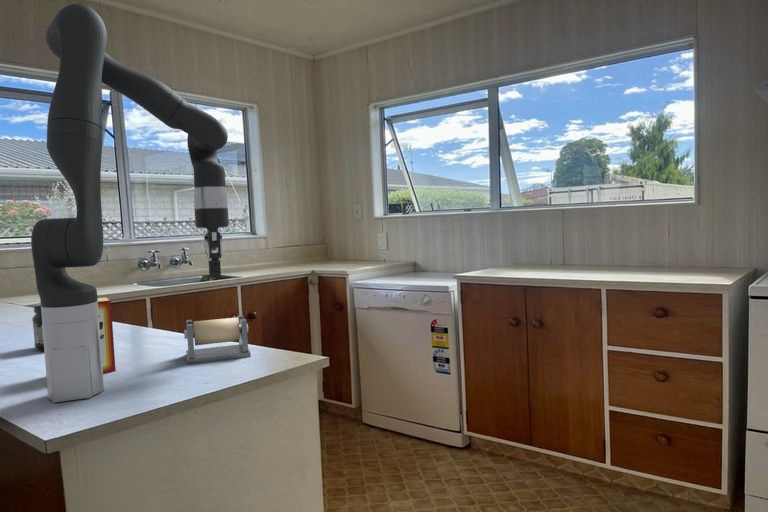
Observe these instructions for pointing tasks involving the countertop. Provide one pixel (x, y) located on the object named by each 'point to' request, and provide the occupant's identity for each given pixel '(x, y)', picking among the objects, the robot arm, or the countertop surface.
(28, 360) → the countertop surface
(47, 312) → the robot arm
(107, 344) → the baking soda box
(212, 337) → the paper roll
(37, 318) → the supplement container
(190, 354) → the roll holder
